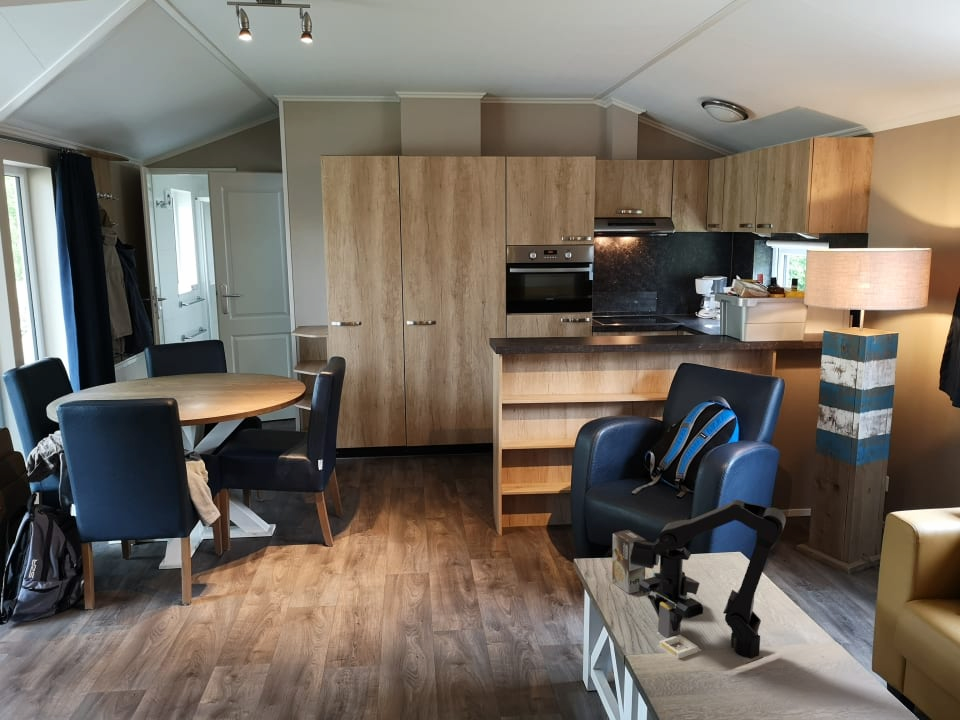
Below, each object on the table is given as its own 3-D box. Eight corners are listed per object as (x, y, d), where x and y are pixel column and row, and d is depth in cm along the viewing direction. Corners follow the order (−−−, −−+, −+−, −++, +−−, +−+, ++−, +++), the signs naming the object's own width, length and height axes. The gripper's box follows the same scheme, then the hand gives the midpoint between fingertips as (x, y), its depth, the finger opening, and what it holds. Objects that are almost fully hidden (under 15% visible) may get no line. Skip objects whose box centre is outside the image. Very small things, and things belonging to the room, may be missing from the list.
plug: (679, 635, 202) (681, 605, 200) (668, 639, 200) (670, 609, 198) (668, 627, 205) (670, 598, 204) (657, 631, 204) (659, 601, 202)
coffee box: (646, 590, 230) (647, 539, 227) (628, 594, 227) (629, 543, 225) (627, 578, 238) (629, 529, 235) (610, 582, 235) (611, 532, 233)
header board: (707, 652, 195) (707, 643, 195) (674, 664, 190) (675, 654, 190) (672, 630, 207) (672, 621, 206) (640, 640, 201) (640, 631, 201)
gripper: (720, 578, 195) (717, 635, 198) (669, 552, 212) (668, 605, 214) (687, 588, 190) (685, 646, 193) (638, 560, 206) (636, 614, 209)
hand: (669, 626), depth 202 cm, fingers closed on plug, 4 cm apart
